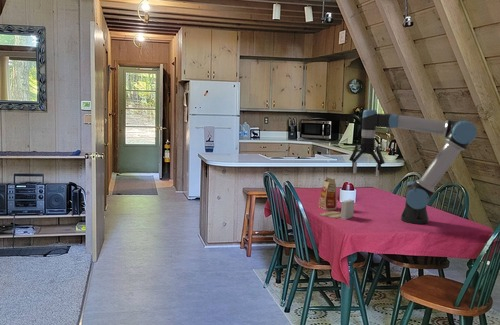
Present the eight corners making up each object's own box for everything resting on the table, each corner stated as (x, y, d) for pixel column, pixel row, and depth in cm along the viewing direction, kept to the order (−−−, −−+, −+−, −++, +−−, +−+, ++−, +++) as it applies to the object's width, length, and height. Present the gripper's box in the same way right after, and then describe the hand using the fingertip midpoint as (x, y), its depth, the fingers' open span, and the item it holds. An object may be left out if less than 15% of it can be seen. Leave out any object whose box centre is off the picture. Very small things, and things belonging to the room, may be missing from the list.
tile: (353, 216, 284) (354, 200, 283) (344, 219, 276) (346, 202, 275) (348, 215, 286) (349, 199, 285) (340, 218, 278) (341, 201, 277)
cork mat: (348, 214, 288) (348, 214, 288) (336, 218, 277) (336, 218, 277) (330, 211, 296) (330, 210, 296) (318, 214, 285) (318, 214, 285)
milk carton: (325, 209, 299) (327, 178, 296) (317, 206, 307) (319, 175, 305) (337, 209, 302) (340, 177, 300) (330, 206, 311) (332, 175, 308)
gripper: (392, 138, 265) (389, 176, 268) (350, 135, 280) (348, 171, 283) (386, 139, 259) (384, 178, 262) (344, 136, 274) (342, 172, 277)
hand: (365, 174), depth 273 cm, fingers open, 13 cm apart
